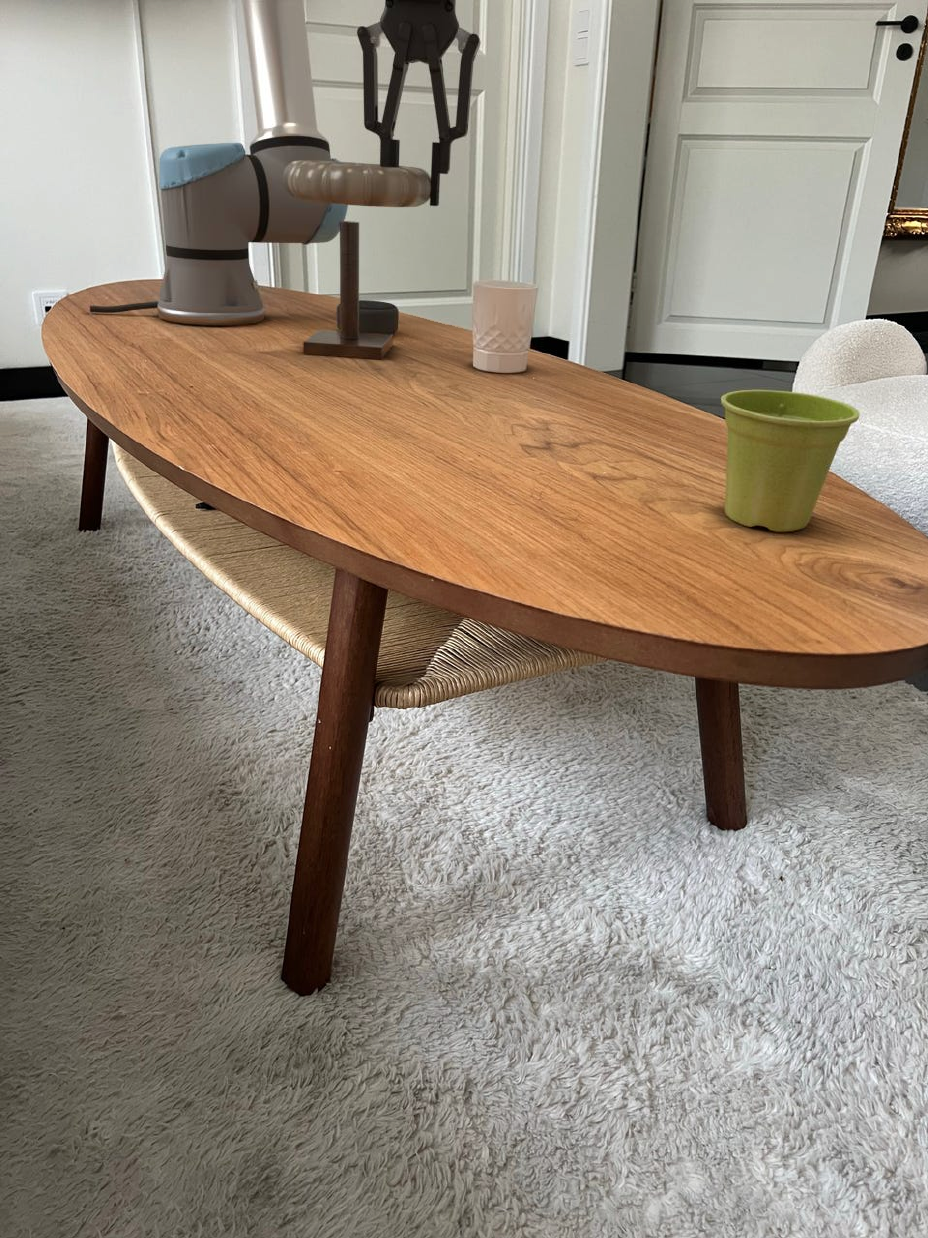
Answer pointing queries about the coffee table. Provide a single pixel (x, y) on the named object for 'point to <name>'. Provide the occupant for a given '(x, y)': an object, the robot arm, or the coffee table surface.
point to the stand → (349, 310)
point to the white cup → (502, 324)
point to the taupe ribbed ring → (357, 183)
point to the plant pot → (780, 454)
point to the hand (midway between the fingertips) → (413, 203)
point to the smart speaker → (375, 317)
